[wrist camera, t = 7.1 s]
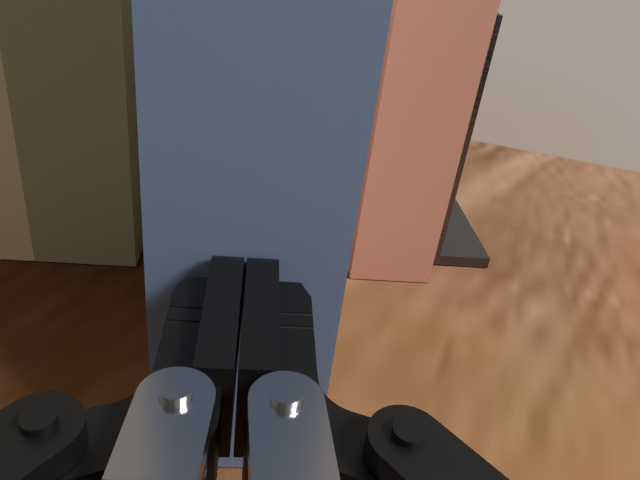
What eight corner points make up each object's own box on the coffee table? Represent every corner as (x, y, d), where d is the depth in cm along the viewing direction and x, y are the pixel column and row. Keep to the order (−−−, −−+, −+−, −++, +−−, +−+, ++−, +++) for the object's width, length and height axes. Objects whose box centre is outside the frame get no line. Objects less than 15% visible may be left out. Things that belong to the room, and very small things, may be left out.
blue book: (151, 465, 16) (66, -1230, 5) (209, 199, 30) (222, -412, 19) (316, 469, 17) (577, -1061, 5) (299, 206, 30) (363, -385, 19)
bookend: (420, 263, 27) (482, 13, 21) (380, 159, 37) (414, -29, 32) (487, 267, 27) (564, 22, 22) (428, 163, 38) (470, -22, 32)
